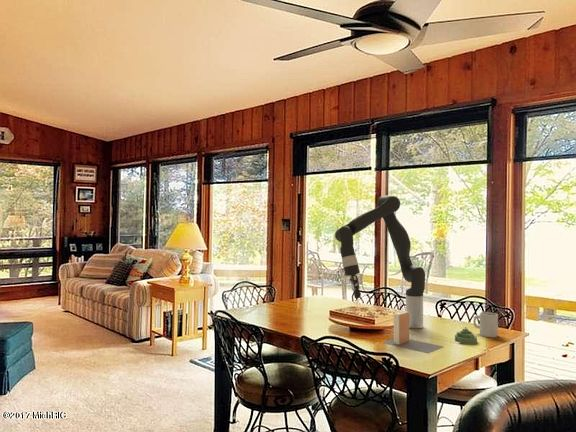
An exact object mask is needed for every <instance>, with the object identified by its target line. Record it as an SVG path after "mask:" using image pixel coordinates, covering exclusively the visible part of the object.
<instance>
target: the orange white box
mask: <svg viewBox="0 0 576 432" xmlns="http://www.w3.org/2000/svg"><path fill="white" fill-rule="evenodd" d="M393 339H394V344H402V343H405V342H407V341H409V339H410V328H409V312H407V311H406V310H402V311H398V312H396V313H393Z"/></svg>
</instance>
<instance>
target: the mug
mask: <svg viewBox="0 0 576 432" xmlns="http://www.w3.org/2000/svg"><path fill="white" fill-rule="evenodd" d="M477 319H479V325H478V324H477V323H476V321H477ZM473 326H474V328H476V329H479V335H480V336H482V337H485V338H486V337H487V338H498V337H499V315H498V313H495V312H491V311H482V312H480V313H479V314H476V315H474V316H473ZM497 336H498V337H497Z"/></svg>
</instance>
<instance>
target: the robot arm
mask: <svg viewBox="0 0 576 432" xmlns="http://www.w3.org/2000/svg"><path fill="white" fill-rule="evenodd" d="M400 206H401V201H400V199H399V198H398V197H397V196H396V195H381V196H380V197H379V198H378V199H377V207H375V208H373V209H371V210H369V211H366V212H364V213H362V214H359V215H358V216H357V217H355V218H353V219H351V221H349V222H348V223H347V224H346V225H342V226H340V228H337V230H336V231H335V232H334V233H335V234H334V238H335V239H336V241H338V242H340V244H341V245H340V248H339V251H340V256H341V262H342V267H343V272H344V275H345V276H346V277H350V278H349V283H350V287H351V290H352V293H353V296H354V299H359V298H360V297H361V298H362V295H361V291H360V288H361V287H360V283H359V278H358V275H359V274H361V273H360V272H361V271H360V267H359V262H358V258H357V256H356V252H355V248H354V235H356V234H358V233H359V232H362V231H363V230H364V229H366V228H367V227H369V226H371V225H372V224H374V223H375V222H377V221H379V220H381V219H383V221H384V223H385V226H386V229H387V231H388V234H389V236H390V240H391V243H392V245H393V248H394V250H395V253H396V257H397V259H398V262H399V266H400V270H401V274H402V277H403V278H404V280H405V281H406V282H408V283H410V287H409V288H408V289H407V288H406V290H405V311H407V312H409V329H423V328H424V292H425V290H426V289H425V287H426V271H425V269H424V268H423V267H421V266H417V265H413V262H412V260H411V255H410V253H411V247H412V246H411V245H412V243H411V240H410V237H409V233H408V232H407V229H406V228H405V227H404V226H403V225H402V223H401V222H400V221H399V219H398V218H397V216H396V212H398V211H399V209H400Z"/></svg>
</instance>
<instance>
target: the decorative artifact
mask: <svg viewBox="0 0 576 432" xmlns="http://www.w3.org/2000/svg"><path fill="white" fill-rule="evenodd" d="M454 342H459V344H464V345H475V344H477V343H478V337H477V336H476V335H475V334H474V332H473V331H471V330H469V329H468V328H467V327H466V326H465V328H462V330H460V331H456V334H454Z"/></svg>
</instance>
